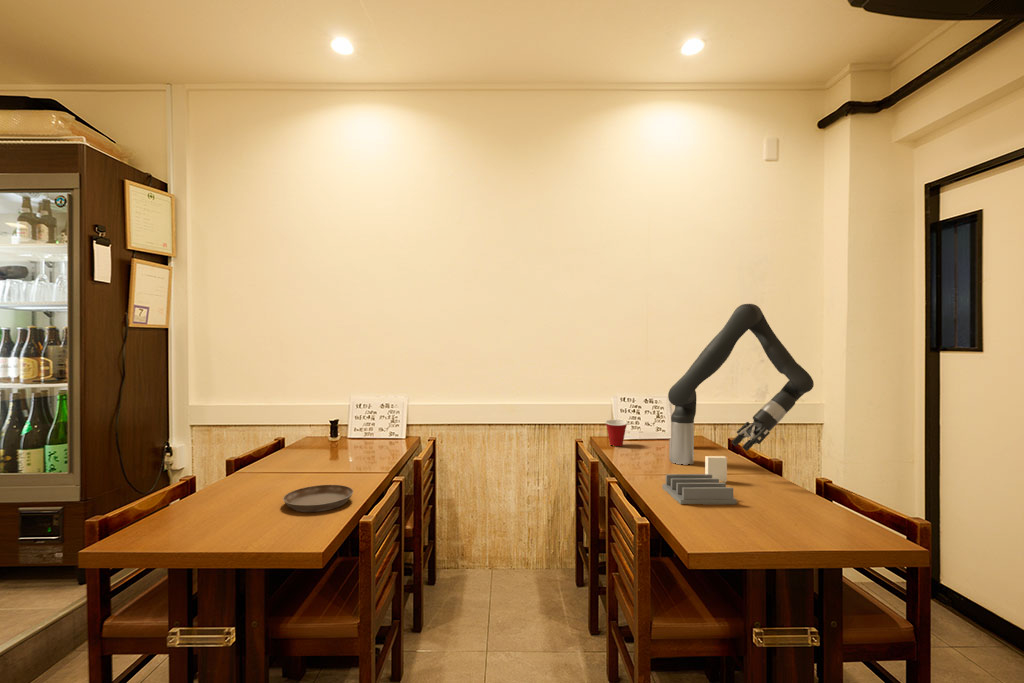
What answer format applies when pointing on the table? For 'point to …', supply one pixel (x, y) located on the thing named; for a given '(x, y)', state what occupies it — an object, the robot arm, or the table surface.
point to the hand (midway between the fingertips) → (738, 446)
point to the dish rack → (698, 489)
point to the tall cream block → (716, 467)
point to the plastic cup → (616, 431)
